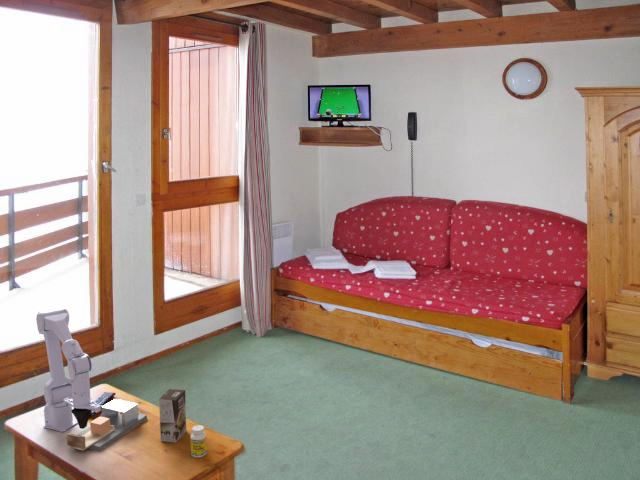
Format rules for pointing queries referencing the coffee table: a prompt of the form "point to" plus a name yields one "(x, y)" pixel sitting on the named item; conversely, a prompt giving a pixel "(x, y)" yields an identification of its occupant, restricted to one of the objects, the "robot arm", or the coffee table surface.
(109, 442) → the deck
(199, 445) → the supplement bottle
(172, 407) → the coffee box
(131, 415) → the tunnel
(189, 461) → the coffee table surface
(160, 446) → the coffee table surface
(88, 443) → the sled
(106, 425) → the block
